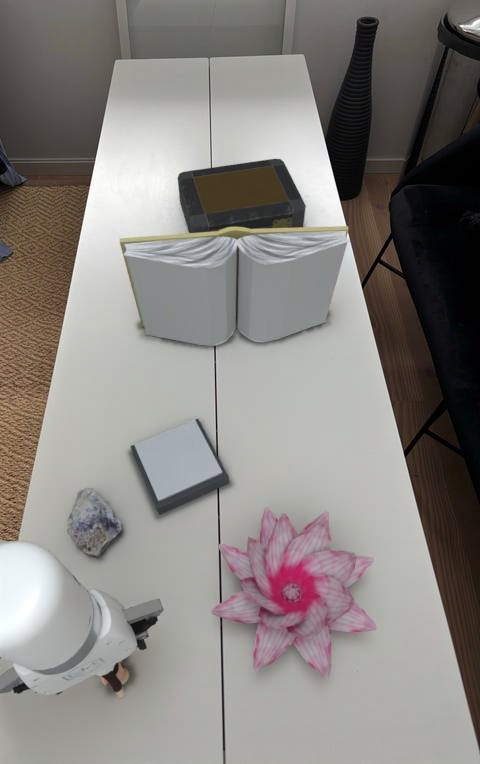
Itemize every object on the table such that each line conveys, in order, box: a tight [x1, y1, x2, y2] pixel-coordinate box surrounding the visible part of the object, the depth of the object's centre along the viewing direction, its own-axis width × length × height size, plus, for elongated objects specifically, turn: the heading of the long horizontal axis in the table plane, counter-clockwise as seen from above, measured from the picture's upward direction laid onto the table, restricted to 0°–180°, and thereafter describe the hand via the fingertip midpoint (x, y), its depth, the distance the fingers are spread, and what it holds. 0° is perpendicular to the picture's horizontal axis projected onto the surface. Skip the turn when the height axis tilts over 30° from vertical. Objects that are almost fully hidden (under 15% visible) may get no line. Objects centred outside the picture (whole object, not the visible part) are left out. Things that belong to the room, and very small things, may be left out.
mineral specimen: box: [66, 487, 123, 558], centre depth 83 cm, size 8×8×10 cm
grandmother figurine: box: [94, 660, 131, 699], centre depth 67 cm, size 8×4×13 cm, turn 40°
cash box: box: [177, 158, 307, 233], centre depth 123 cm, size 25×20×8 cm
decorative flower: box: [210, 505, 378, 679], centre depth 72 cm, size 21×21×15 cm
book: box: [119, 225, 350, 347], centre depth 96 cm, size 36×8×24 cm, turn 95°
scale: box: [130, 418, 230, 516], centre depth 88 cm, size 12×12×3 cm
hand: (99, 657), depth 61 cm, fingers open, 9 cm apart
